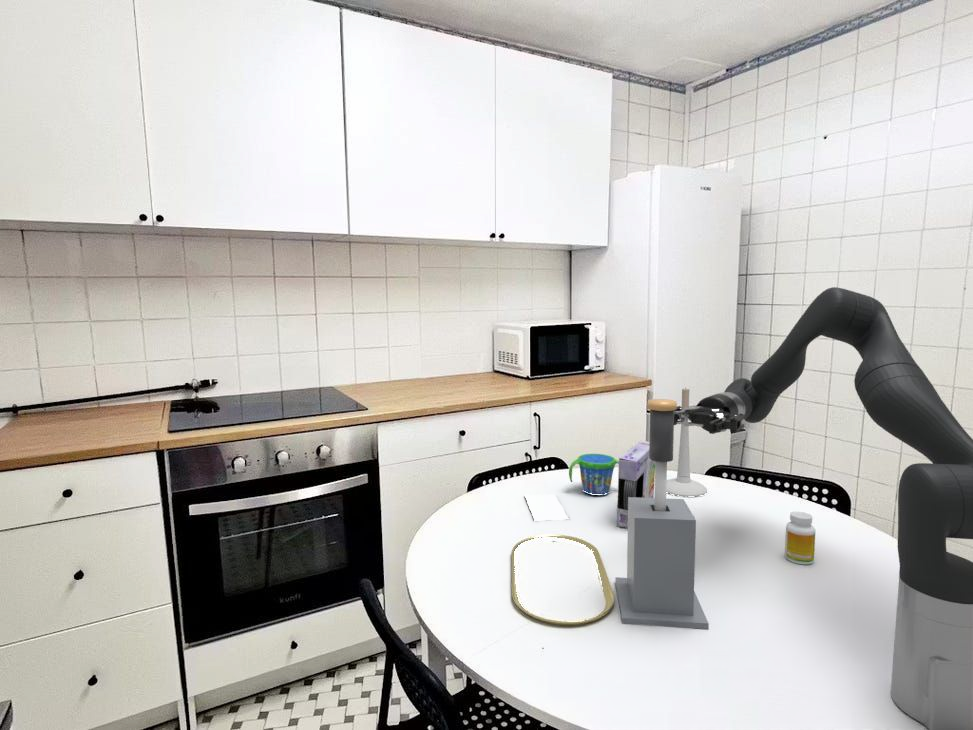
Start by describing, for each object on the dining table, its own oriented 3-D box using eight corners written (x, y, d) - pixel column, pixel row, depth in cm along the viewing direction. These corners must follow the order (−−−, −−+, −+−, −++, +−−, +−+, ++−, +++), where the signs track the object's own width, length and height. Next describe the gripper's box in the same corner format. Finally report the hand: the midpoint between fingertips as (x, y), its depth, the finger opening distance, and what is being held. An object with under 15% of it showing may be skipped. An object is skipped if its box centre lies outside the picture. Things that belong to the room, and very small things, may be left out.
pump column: (708, 629, 92) (711, 525, 90) (622, 623, 94) (623, 521, 92) (689, 586, 105) (692, 495, 103) (615, 582, 107) (616, 493, 105)
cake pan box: (634, 532, 130) (635, 460, 128) (613, 528, 133) (614, 457, 131) (655, 506, 146) (657, 441, 144) (637, 503, 149) (638, 439, 147)
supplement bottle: (818, 566, 112) (820, 520, 111) (789, 564, 113) (791, 519, 112) (808, 554, 118) (810, 510, 116) (781, 552, 119) (783, 509, 118)
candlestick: (711, 498, 152) (715, 391, 148) (663, 496, 154) (665, 390, 150) (701, 483, 164) (704, 384, 161) (657, 481, 166) (658, 383, 163)
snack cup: (621, 487, 162) (621, 453, 161) (626, 499, 152) (627, 463, 151) (567, 486, 164) (567, 452, 162) (569, 498, 153) (569, 463, 152)
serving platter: (512, 630, 93) (512, 621, 93) (511, 540, 128) (511, 534, 128) (624, 631, 92) (624, 622, 92) (592, 541, 127) (592, 534, 127)
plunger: (675, 557, 96) (679, 404, 93) (647, 556, 96) (649, 403, 93) (670, 545, 100) (673, 399, 97) (643, 544, 101) (645, 398, 98)
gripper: (688, 390, 120) (653, 401, 108) (757, 397, 110) (727, 410, 99) (687, 424, 121) (652, 438, 109) (756, 434, 111) (726, 450, 99)
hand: (688, 425), depth 104 cm, fingers open, 8 cm apart
